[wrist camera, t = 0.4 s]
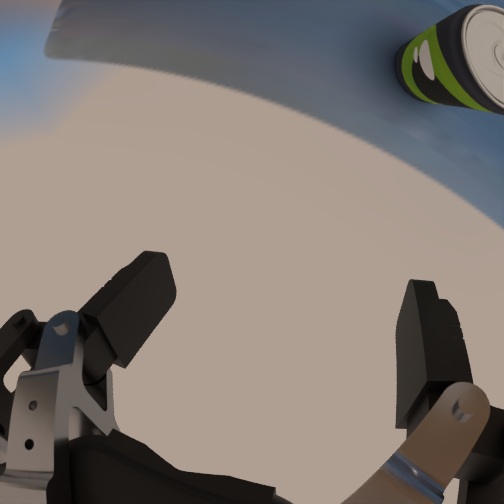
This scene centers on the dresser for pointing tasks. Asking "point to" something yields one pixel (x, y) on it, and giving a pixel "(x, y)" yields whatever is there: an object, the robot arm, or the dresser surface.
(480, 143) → the dresser surface
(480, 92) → the beverage can
